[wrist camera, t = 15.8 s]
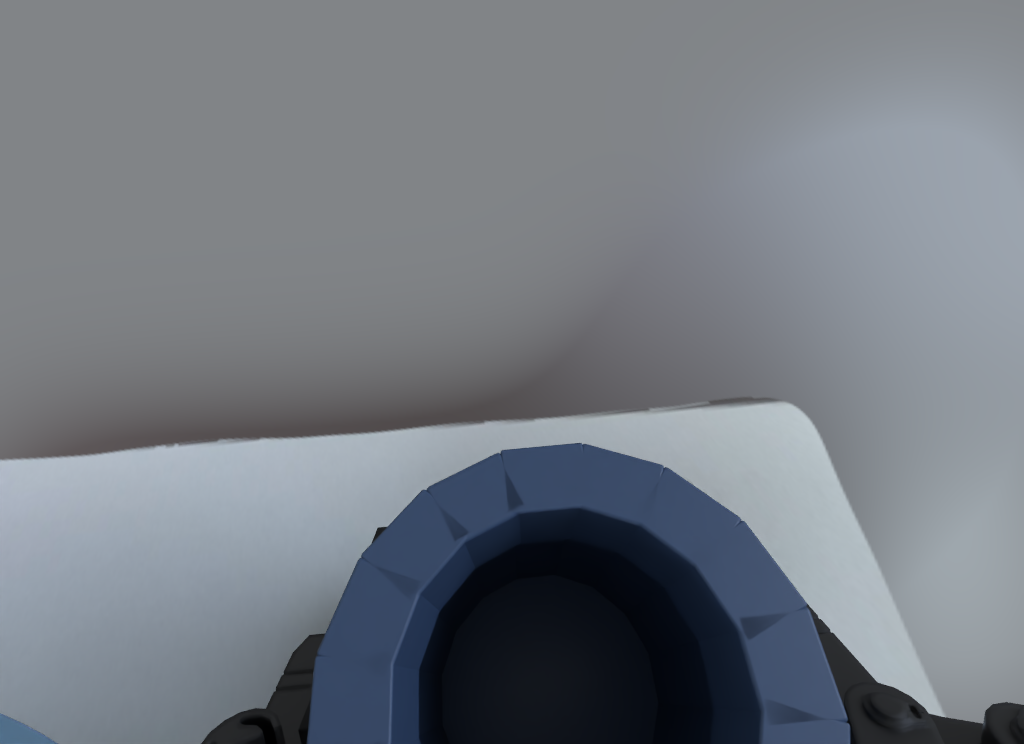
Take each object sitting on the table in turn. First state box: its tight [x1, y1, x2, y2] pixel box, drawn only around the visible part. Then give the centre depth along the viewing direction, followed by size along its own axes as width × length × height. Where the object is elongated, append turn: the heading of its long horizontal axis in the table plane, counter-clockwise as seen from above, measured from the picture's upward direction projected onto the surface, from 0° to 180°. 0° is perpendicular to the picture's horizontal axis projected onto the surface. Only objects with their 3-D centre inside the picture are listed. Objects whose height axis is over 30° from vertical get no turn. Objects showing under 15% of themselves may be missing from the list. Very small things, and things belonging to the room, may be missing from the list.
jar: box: [307, 443, 850, 744], centre depth 12 cm, size 8×8×11 cm
